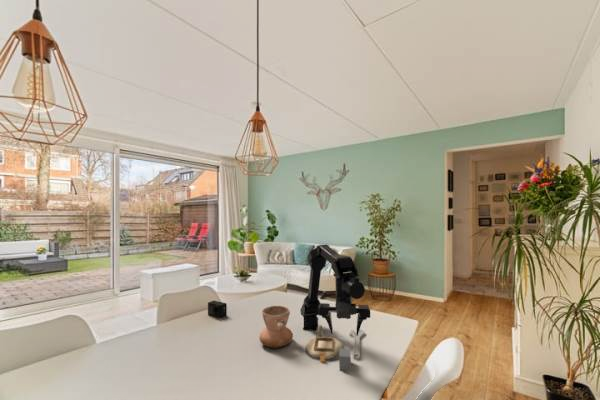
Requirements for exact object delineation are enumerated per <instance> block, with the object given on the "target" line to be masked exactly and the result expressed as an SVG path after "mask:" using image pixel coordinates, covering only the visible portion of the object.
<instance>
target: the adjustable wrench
mask: <svg viewBox="0 0 600 400" xmlns="http://www.w3.org/2000/svg"><path fill="white" fill-rule="evenodd" d="M348 335H349V337H351V338H353V340H354V341H353V351H352V358H353V360H355V361H359V360H360V358H361V349H360V346H361V344H360V342H361V341H360V340H362V338H363V337H364V336H365V331H364V329H361V328H360V329H359V333H358V335H357V331H355V330H354V329H351V330H350V331H349V334H348Z"/></svg>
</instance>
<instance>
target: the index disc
mask: <svg viewBox="0 0 600 400" xmlns="http://www.w3.org/2000/svg"><path fill="white" fill-rule="evenodd" d="M305 348H306V351H307V353H308V354H310V355H311V356H313V357H316V358H320V355H323V356H325V359H329V358H334V357H337V356H339V352H340V348H344V345H343V343H342V342H341V340H339V339H337V338H334V337H329V336H323V325H321V324H318V328H317V336H316V337H313V338H311V339H310V340H308V341H307V342H306V345H305Z"/></svg>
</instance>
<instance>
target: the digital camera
mask: <svg viewBox="0 0 600 400" xmlns="http://www.w3.org/2000/svg"><path fill="white" fill-rule="evenodd" d="M227 310H228V308H227V303H226V302H222V301H219V300H211V301H208V302H207V315H208V316H210V317H215V318H218V319H222V318H225V317H226V316H228V315H227V314H228V313H227V312H228V311H227Z"/></svg>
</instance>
